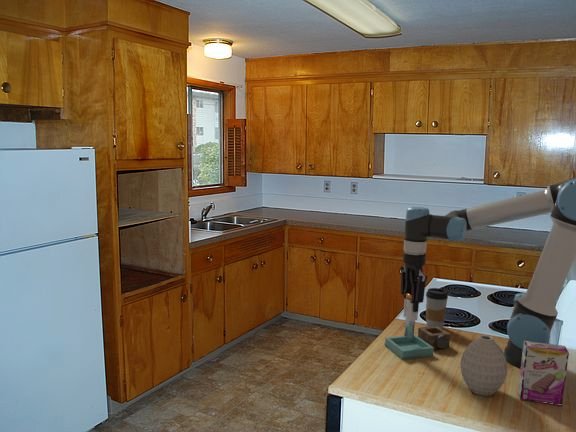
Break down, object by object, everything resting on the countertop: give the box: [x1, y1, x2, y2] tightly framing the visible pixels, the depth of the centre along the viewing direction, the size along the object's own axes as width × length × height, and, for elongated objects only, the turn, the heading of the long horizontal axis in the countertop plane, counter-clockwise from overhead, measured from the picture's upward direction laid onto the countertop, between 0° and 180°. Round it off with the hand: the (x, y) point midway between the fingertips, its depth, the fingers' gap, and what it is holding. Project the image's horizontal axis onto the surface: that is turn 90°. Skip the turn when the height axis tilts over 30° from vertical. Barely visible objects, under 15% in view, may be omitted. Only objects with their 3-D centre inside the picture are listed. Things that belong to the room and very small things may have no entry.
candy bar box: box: [517, 341, 570, 405], centre depth 146 cm, size 11×5×16 cm, turn 74°
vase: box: [460, 334, 508, 397], centre depth 150 cm, size 13×13×17 cm
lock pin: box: [403, 293, 416, 338], centre depth 177 cm, size 4×4×15 cm
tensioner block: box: [417, 326, 451, 350], centre depth 184 cm, size 10×8×5 cm
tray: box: [384, 334, 435, 361], centre depth 178 cm, size 12×12×3 cm
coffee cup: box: [425, 287, 449, 329], centre depth 200 cm, size 8×8×15 cm
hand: (410, 318), depth 177 cm, fingers closed on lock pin, 3 cm apart
